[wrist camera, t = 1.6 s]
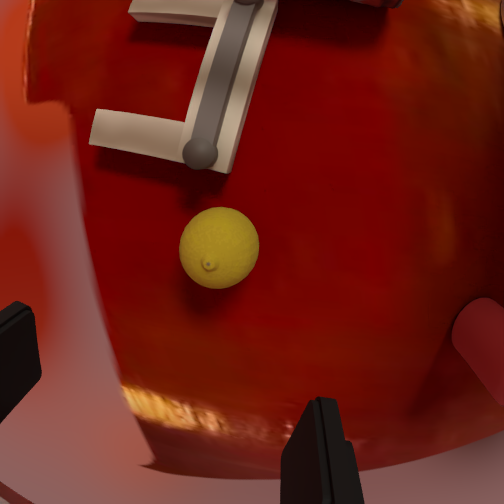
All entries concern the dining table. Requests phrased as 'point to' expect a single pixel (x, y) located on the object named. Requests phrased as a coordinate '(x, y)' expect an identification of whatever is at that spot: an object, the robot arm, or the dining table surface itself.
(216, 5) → the beige u-shaped frame
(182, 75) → the dining table surface
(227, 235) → the lemon
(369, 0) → the beverage can
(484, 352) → the beer can
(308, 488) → the robot arm
